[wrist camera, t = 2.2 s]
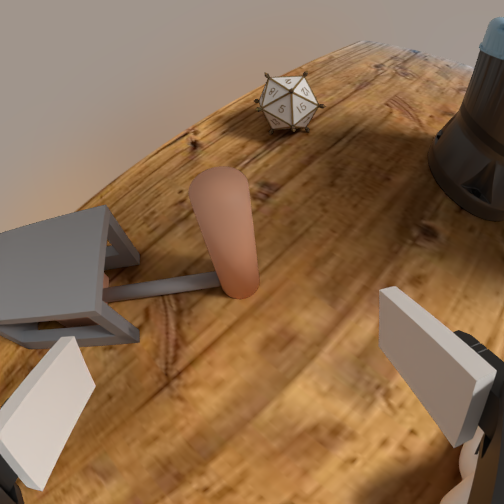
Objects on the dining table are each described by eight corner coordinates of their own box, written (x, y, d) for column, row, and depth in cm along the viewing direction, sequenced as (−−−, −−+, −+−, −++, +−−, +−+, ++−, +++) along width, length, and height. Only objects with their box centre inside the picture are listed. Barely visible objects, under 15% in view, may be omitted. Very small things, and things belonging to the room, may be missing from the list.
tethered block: (255, 254, 31) (243, 155, 20) (263, 302, 29) (254, 216, 18) (70, 284, 31) (-2, 215, 20) (67, 327, 29) (-18, 269, 17)
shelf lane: (139, 254, 32) (105, 204, 25) (139, 342, 28) (94, 310, 20) (37, 272, 32) (-5, 234, 25) (28, 349, 27) (-25, 322, 20)
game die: (273, 147, 44) (229, 92, 39) (316, 111, 43) (277, 57, 38) (299, 159, 37) (247, 92, 31) (350, 117, 36) (305, 50, 31)
